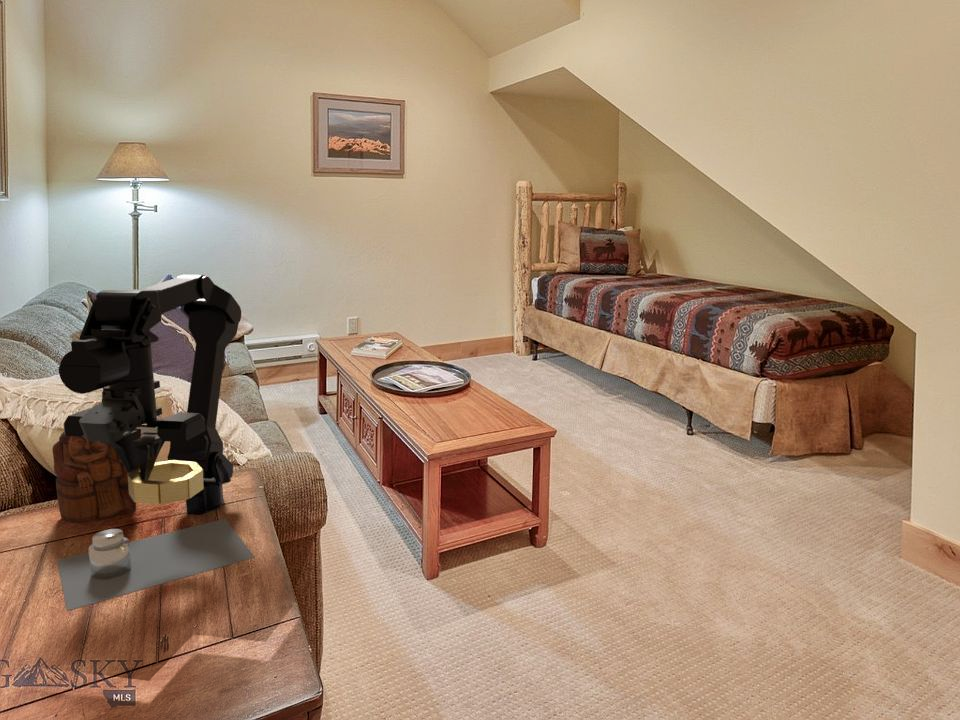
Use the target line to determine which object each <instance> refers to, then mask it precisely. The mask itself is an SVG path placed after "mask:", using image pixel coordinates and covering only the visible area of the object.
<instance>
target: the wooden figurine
mask: <svg viewBox="0 0 960 720" xmlns="http://www.w3.org/2000/svg"><path fill="white" fill-rule="evenodd" d="M51 450H52V457H53V471H54V474H56V476H57V477H56V478H55V487H56V488H55V489H56V497H57V504H58V510H59V513H60V518H61V520H62V519H63V520H64V521H66V522H69V523H73V524H89V523H93V522H96V521H98V520H103V519H104V520H105V519H108V518H109V519H110V518H113V517H115V518H116V517H121V516H124V515H127V514H128V515H129V514H131V513H133V512H134V511H135V510H137V503H135V502H134V501H133V500H132V498H131V496H130V495H129V488H128V472H127V470H126V468H125V466H124V465H123V463H122V461H121V459H120V457H119V456H118V454H117V453H116V451H115V450H114V449H113V448H112V447H110V446H109V445H107V444H105V443H100V442H99V441H93V442H90V441H87V439H86V437H85V436H82V437H76V436H65V433H64V431H63V432H62V433H61V435H59V437H58V441H56V442H55V443H54V444H53V445H52V449H51Z"/></svg>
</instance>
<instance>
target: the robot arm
mask: <svg viewBox="0 0 960 720" xmlns="http://www.w3.org/2000/svg"><path fill="white" fill-rule="evenodd" d="M178 308H180V311H181V312H182V313H183V314H184V316H185V317H186V318H187V319H188V321H187V322H188V327H187V328H188V330H189V333H190V334H191V336H192V339H193V340H194V343H195V349H194V355H193V356H194V357H193V364H192V371H191V379H190V385H189V386H190V388H189V393H188V394H189V395H188V403H187V410H186V412H182V411H181V412H175V413H174V414H172V415H170V416H167V417H165V418H158V417H159V416H161V415H163V409H162V407H159V406H158V407H157V404H156V403H157V402H156V390H157V389H159V388H161V382H160V380H155V377H154V365H153V353H152V344H153V343H156V342H158V341H159V337H158V335H156V334H155V333H154V332H152V331H151V329H152V328H154V327H155V326H156V325H158V324H159V323H160V322H161V321H162V318H163V317H162V315H164V314H166V313H169V312H170V311H173V310H175V309H178ZM241 320H242V309H241V307H240V304H239V303H238V301H236V298H235V297H234V296H233V295H232V294H231V293H230V292H228V291H227V290H225V289H224V288H221V287H220V286H218V285H217V284H215V283H214V282H213V281H212V279H211V277H209V276H206V275H205V274H181V275H178V276H176V277H174V278H172V279H168V280H166V281H162V282H159V283H156V284H153V285H149V286H146V287H143V288H140V289H139V288H138V289H103V290H100V291H99V292H97V294H96V295H95V299H94V300H93V302H92V305H91V307H90V309H89V312H88V315H87V316H86V320H85V322H84V324H83V327H82V330H81V332H80V335H79V339H76V340H72V341H71V343H70V345H71V350H70V351H69V352H67V353H65V354H64V356H63V357H62V358H61V361H60V364H59V366H58V375H59V378H60V380H61V382H62V383H63V385H64V386H65V388H67V389H68V390H69V391H71V392H74V393H77V394H80V395H84V394H85V395H86V394H89V393H91V392H95V391H99V390H101V389H102V392H101V396H102V397H101V402H99V403H97V404H95V405H93V407H89V408H87V409H86V408H85V409H84V410H81V411H77V412H75V413H73V414H70V415H67V417H66V418H65V420H64V423H63V432H64V433H65V436H76V437H82V436H85V437H86V439H87V441H90V442H93V441H99V442H100V443H105V444H107V445H109V446H110V447H112V448H113V449H114V450H115V451H116V453H117V454H118V456H119V457H120V459H121V461H122V463H123V465H124V466H125V468H126V470H127V472H128V473H130V472H131V471H133V470H135V469H137V468H139V467H140V474H141V479H142V480H148V479H149V477H150V474H151V472H152V469H153V467H154V464H155V463H156V462H157V459H158V456H159V454H160V452H161V449H162V448H163V446H164V444H165V443H166V442H169V443H170V444H169V451H168V454H167V461H169V460H179V461H190V462H196V463H197V464H198V465H199V466H200V467H201V468H202V469H203V484H204V488H203V490H201V491H200V492H199V493H197V494H196V495H194V496H193V497H191V498H190V499H189V498H188V499H187V500H185V506H186V507H185V508H186V514H187V515H193V516H194V515H195V516H197V515H198V516H202V515H203V514H207V513H208V512H212V511H215V510H217V509H220V507H222V506H223V504H224V491H223V485H224V484H228V483H230V482H231V481H232V478H233V473H234V464H233V463H232V462H231V461H230V460H229V459H228V458H227V456H225V455H224V442H223V440H222V438H221V436H220V434H219V432H218V430H217V418H218V417H217V416H218V411H219V409H218V408H219V402H220V394H221V387H222V386H221V385H222V377H223V370H224V369H223V368H224V360H225V352H226V348H227V346H229V344H230V343H231V342H232V341H233V340H234V338H235V337H236V336H237V333H238V329H239V324H240V322H241Z"/></svg>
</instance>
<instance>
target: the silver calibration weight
mask: <svg viewBox="0 0 960 720" xmlns="http://www.w3.org/2000/svg"><path fill="white" fill-rule="evenodd" d="M91 539H92V543H91V544H90V545H89V546H88V552H89V558H90V567H91V576H92V577H93V578H95V579H100V580H104V579H111V578H115V577H118V576H121V575H123V574H125V573H126V572H128V571H129V570H130V569H131V558H130V548H129V542H130V541H129V540H130V539H128V538H127V537H125V536H124V532H123V530H122V529H119V528H109V529H104V530H101V531H98V532H96V533H95V534H93V536H92V537H91Z"/></svg>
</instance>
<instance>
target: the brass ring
mask: <svg viewBox="0 0 960 720" xmlns="http://www.w3.org/2000/svg"><path fill="white" fill-rule="evenodd" d="M128 488H129V495H130V496H131V498H132V500H133V501H134V502H135V503H136V504H148V505H155V506H156V505H158V506H160V505H165V504H166V505H167V504H171V503H175V502H177V503H178V502H181V501H182V502H183V501H186V500H187V499H188V498H189V499H190V498H191V497H193V496H194V495H196V494H197V493H199V492H200V491H201V490H203V488H204V484H203V469H202V468H201V467H200V466H199V465H198V464H197V463H196V462H190V461H179V460H169V461H168V460H165V461H163V460H162V461H158V462H157V461H156V462H155V464H154V467H153V469H152V472H151V474H150V477H149V479H148V480H142V479H141V474H140V467H139V468H137V469H135V470H133V471H131V472H130V473H128Z"/></svg>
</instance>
